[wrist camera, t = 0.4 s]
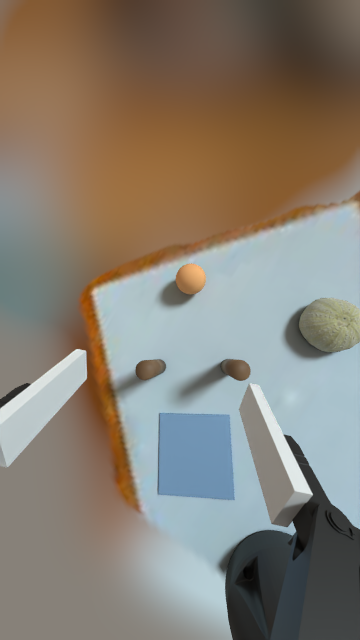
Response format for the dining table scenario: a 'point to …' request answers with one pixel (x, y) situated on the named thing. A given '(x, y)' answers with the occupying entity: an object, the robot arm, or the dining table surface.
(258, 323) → the dining table surface
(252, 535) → the robot arm
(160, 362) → the post left
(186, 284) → the ball
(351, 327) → the sea urchin shell
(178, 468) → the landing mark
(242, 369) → the post right
